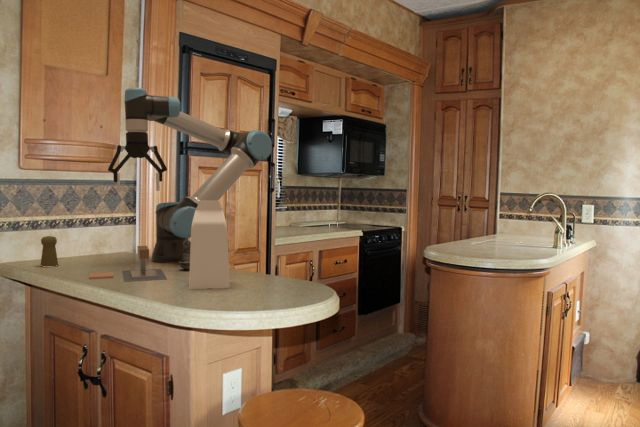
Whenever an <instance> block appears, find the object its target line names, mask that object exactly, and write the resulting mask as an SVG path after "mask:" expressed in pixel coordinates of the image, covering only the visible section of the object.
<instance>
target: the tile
mask: <svg viewBox="0 0 640 427" xmlns="http://www.w3.org/2000/svg"><path fill="white" fill-rule="evenodd" d="M101 279H102V280H103V279H104V280H105V279H114V272H111V271H109V272H90V273H89V280H101Z"/></svg>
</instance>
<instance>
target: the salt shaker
mask: <svg viewBox="0 0 640 427" xmlns="http://www.w3.org/2000/svg"><path fill="white" fill-rule="evenodd" d="M190 246H191V240H189V238H186V241H184V242H183V250H182V252H183V258H182V260H181V261H179V262H178V263H179V267H180V268H181V269H183V271H190Z"/></svg>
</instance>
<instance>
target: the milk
mask: <svg viewBox="0 0 640 427" xmlns="http://www.w3.org/2000/svg"><path fill="white" fill-rule="evenodd" d="M228 240H229V237H228V226H227V220H226V216H225V213H224V210H223V206H222V204H221V202H220V200H218V201H199V203H198V206H197V208H196V210H195V214H194V217H193V221H192V226H191V237H190V242H191V246H190V270H189V274H188V275H189V279H188V290H205V289H206V290H207V288H213V289H230V288H231V285H230V284H231V282H230V261H229V260H230V259H229V241H228ZM228 287H229V288H228Z"/></svg>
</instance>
